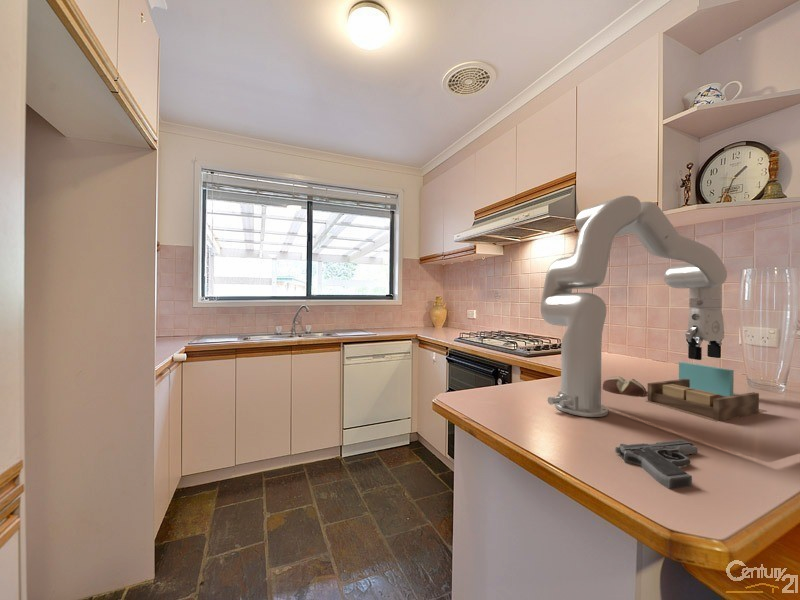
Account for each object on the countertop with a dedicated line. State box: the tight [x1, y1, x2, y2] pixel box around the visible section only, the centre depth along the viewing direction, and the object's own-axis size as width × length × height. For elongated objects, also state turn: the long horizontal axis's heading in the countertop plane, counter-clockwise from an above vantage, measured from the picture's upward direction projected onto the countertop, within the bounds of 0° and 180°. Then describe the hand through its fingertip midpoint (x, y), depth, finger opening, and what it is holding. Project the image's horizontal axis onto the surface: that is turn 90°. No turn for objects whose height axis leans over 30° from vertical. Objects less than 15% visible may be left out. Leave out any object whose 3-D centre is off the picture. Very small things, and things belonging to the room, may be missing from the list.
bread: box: [602, 376, 647, 397], centre depth 102 cm, size 11×11×5 cm
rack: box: [645, 378, 767, 423], centre depth 88 cm, size 22×16×6 cm
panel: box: [678, 361, 735, 396], centre depth 102 cm, size 2×9×13 cm
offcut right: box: [686, 389, 720, 407], centre depth 83 cm, size 4×5×5 cm
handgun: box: [614, 439, 699, 490], centre depth 59 cm, size 2×17×12 cm
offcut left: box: [663, 384, 693, 400], centre depth 88 cm, size 4×5×5 cm
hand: (704, 358), depth 102 cm, fingers open, 9 cm apart
